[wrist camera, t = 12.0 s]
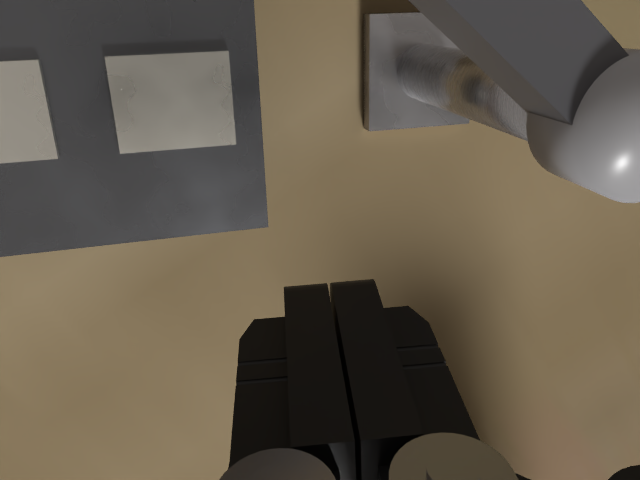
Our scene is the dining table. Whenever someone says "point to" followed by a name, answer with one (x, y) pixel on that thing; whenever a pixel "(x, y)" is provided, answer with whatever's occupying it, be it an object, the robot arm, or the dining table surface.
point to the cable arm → (558, 83)
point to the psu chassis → (127, 122)
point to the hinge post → (427, 80)
